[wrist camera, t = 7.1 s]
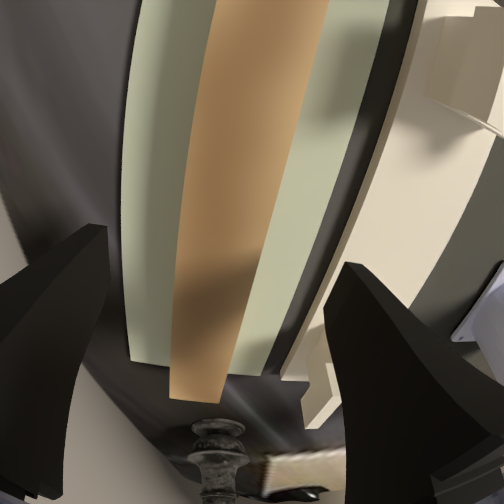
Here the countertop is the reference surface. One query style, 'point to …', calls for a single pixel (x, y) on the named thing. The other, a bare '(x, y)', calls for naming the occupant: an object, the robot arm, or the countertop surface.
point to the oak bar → (235, 176)
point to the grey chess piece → (218, 458)
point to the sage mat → (175, 159)
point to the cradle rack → (414, 172)
